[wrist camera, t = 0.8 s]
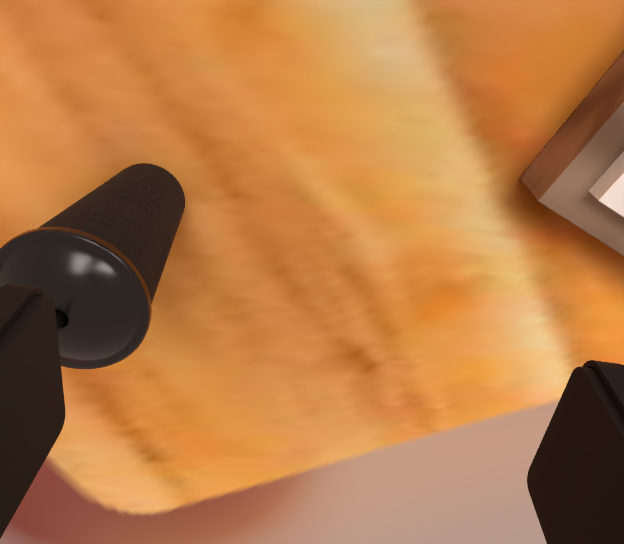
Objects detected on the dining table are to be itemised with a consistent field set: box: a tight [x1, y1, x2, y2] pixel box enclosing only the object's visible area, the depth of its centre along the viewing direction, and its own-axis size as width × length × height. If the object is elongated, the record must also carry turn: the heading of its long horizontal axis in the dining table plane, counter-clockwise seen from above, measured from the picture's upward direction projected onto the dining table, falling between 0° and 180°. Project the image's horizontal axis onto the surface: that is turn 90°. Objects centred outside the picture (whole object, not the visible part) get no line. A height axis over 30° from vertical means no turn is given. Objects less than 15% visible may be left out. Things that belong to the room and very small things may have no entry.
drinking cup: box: [0, 164, 185, 369], centre depth 31 cm, size 8×8×20 cm
